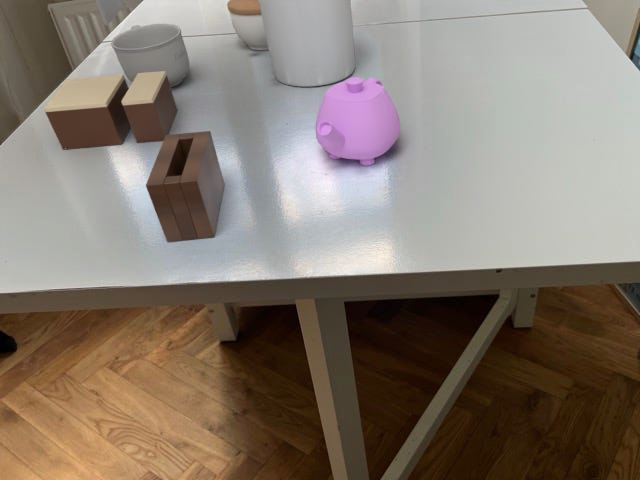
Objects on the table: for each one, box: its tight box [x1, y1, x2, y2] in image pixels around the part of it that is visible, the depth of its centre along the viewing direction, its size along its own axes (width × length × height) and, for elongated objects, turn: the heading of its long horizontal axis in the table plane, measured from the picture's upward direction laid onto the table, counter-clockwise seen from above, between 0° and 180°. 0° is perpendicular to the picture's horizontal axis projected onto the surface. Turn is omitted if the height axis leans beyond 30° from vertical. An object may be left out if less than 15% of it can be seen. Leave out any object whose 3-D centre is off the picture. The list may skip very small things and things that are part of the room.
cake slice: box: [121, 71, 178, 144], centre depth 79 cm, size 4×10×6 cm, turn 7°
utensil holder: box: [259, 0, 356, 88], centre depth 88 cm, size 15×15×18 cm
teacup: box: [110, 23, 190, 88], centre depth 91 cm, size 14×11×8 cm
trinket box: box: [226, 0, 269, 51], centre depth 102 cm, size 11×11×9 cm
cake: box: [43, 74, 131, 151], centre depth 78 cm, size 8×10×6 cm
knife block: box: [145, 130, 226, 243], centre depth 61 cm, size 11×5×7 cm, turn 6°
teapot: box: [315, 76, 401, 166], centre depth 69 cm, size 10×15×9 cm
